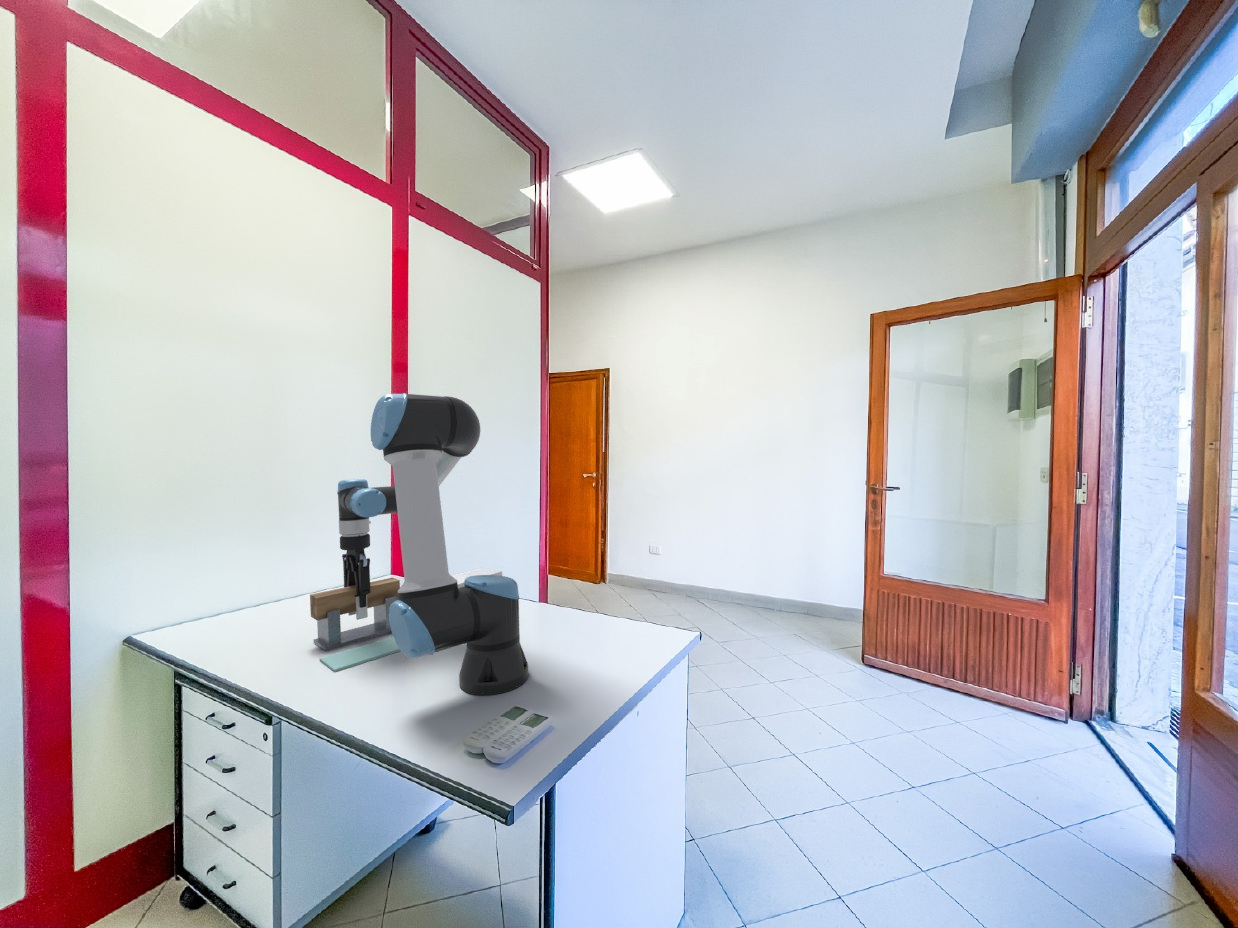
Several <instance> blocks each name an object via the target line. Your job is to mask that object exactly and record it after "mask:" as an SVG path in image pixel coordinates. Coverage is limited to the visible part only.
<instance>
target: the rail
mask: <svg viewBox="0 0 1238 928" xmlns="http://www.w3.org/2000/svg"><path fill="white" fill-rule="evenodd" d="M400 582H401V581H400V579H397V578H394V577H389V578H384V579H378V580H375V581H370V590H371V592H370V593H369V594H367V609H372V608H374V607H375V606H379V605H383V604H384V598H387V597H391V596H396V601H397V600H398V590H399V589H400V587H401V583H400ZM354 595H357V590H356V585H354V586H349V587H344V586H343V587H340V588H336V589H335V588H334V589H331V590H330V589H329V590H327V591H321V592H320V591H319V592H315V593H311V594H309V601H310V602H309V605H310V607H309V608H310V609H309V610H310V617H311V619H314V620H316V622H317V621H318V620H322V619H326V612H327V611H331V610H335V609H340V616H341V615H346V614H348V613H351V612H355V611H356V597H355V596H354Z"/></svg>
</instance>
